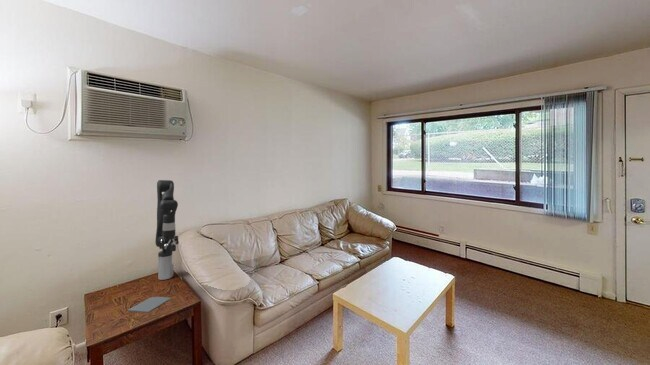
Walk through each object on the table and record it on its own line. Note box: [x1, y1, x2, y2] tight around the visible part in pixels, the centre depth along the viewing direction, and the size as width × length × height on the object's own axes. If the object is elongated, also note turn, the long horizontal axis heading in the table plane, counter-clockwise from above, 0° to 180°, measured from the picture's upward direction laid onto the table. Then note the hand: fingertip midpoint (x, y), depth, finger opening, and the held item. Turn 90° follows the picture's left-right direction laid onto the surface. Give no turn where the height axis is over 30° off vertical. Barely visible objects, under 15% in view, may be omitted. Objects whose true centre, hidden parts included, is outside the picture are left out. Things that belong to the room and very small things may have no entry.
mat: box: [127, 296, 172, 314], centre depth 157 cm, size 18×14×1 cm
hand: (169, 252), depth 173 cm, fingers open, 8 cm apart
